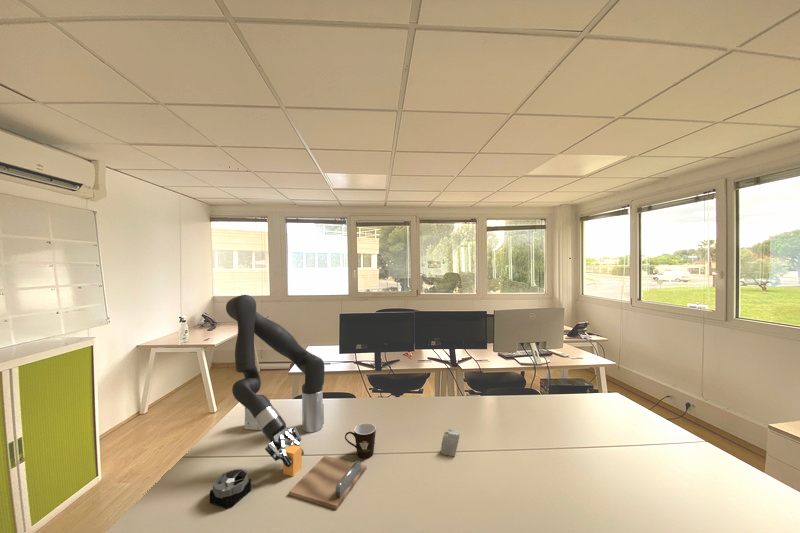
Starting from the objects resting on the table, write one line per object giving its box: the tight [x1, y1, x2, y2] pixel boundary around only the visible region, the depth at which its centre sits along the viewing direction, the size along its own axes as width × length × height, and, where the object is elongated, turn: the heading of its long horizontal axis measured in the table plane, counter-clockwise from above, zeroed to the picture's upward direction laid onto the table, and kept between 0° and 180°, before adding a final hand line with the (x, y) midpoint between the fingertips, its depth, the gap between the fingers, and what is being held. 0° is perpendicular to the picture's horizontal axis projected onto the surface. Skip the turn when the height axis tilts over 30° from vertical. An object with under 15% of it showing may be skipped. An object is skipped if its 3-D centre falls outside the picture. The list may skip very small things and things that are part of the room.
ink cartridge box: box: [244, 398, 271, 431], centre depth 141 cm, size 10×6×14 cm, turn 83°
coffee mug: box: [344, 422, 377, 460], centre depth 120 cm, size 12×9×10 cm
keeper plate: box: [288, 455, 368, 510], centre depth 104 cm, size 20×18×5 cm
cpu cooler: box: [209, 468, 252, 509], centre depth 98 cm, size 10×6×10 cm
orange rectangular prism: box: [282, 445, 303, 477], centre depth 109 cm, size 4×4×8 cm
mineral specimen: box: [440, 428, 461, 457], centre depth 120 cm, size 7×9×8 cm
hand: (296, 460), depth 109 cm, fingers open, 5 cm apart
